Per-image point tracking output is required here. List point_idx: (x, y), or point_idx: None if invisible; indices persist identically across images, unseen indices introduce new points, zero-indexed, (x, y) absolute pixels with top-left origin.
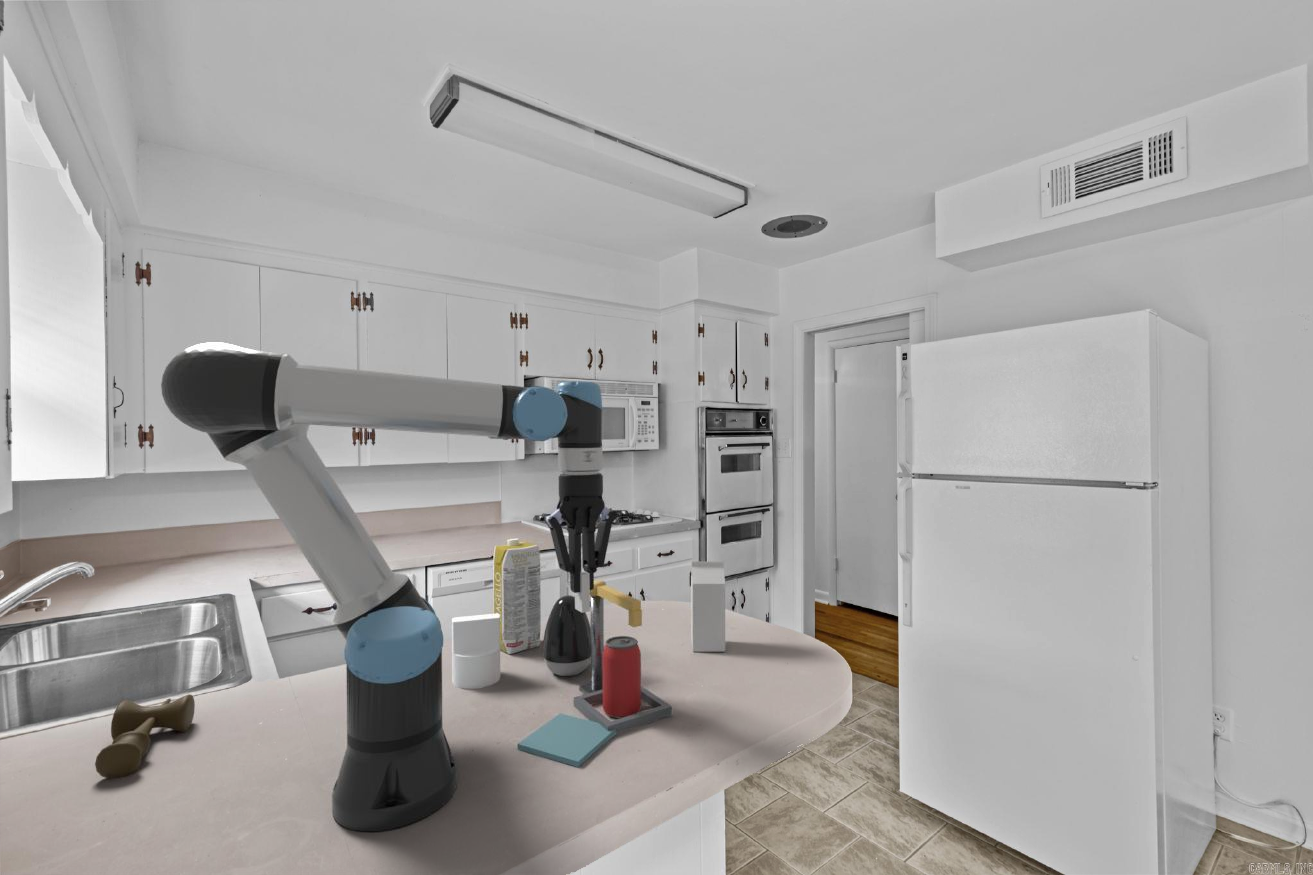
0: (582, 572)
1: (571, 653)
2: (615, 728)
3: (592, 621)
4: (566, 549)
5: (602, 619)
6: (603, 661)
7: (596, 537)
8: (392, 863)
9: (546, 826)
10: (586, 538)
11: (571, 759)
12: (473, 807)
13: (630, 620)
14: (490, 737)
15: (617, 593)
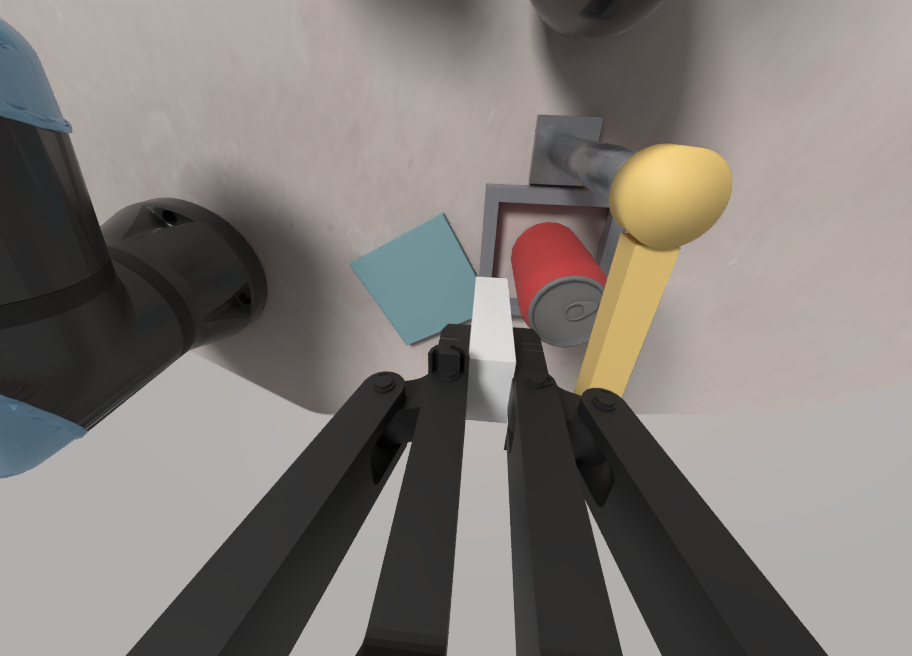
0: (488, 396)
1: (570, 27)
2: None
3: (587, 180)
4: (344, 544)
5: None
6: (519, 284)
7: (692, 575)
8: (216, 363)
9: (345, 394)
10: (520, 620)
11: (402, 337)
12: (285, 337)
13: None
14: (321, 203)
15: (608, 378)
